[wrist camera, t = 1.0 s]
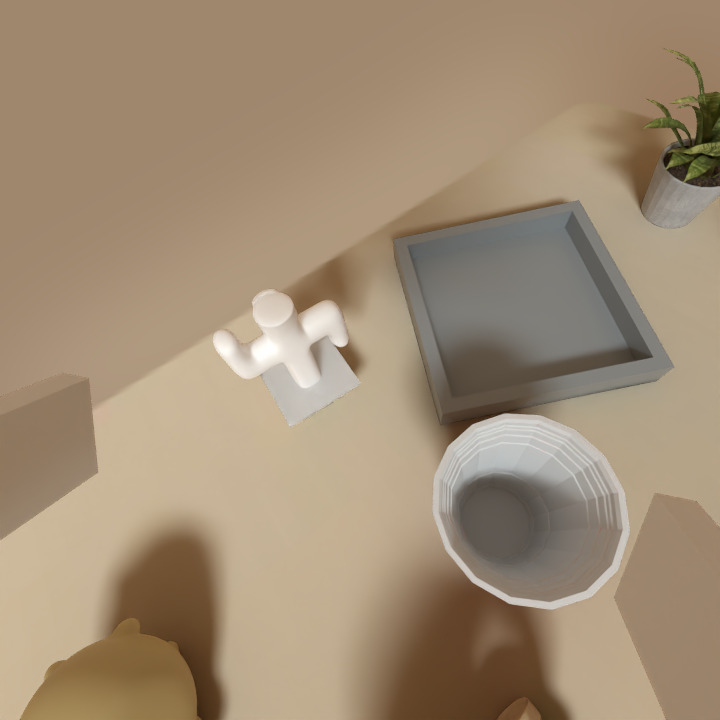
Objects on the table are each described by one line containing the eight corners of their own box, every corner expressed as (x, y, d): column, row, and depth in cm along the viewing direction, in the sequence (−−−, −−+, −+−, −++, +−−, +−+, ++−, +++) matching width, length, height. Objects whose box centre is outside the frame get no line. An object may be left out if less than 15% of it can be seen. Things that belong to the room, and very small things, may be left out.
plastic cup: (401, 495, 37) (398, 463, 26) (507, 435, 38) (545, 382, 28) (474, 627, 32) (505, 653, 22) (592, 554, 34) (676, 545, 23)
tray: (569, 220, 48) (578, 200, 46) (656, 381, 39) (674, 366, 36) (394, 257, 49) (393, 239, 46) (440, 424, 39) (442, 414, 37)
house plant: (580, 162, 52) (646, 2, 37) (704, 154, 51) (823, -16, 36) (606, 255, 46) (698, 107, 31) (749, 249, 44) (915, 90, 30)
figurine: (374, 392, 42) (357, 306, 28) (289, 445, 40) (229, 381, 27) (336, 339, 45) (305, 238, 31) (256, 386, 43) (187, 302, 30)
